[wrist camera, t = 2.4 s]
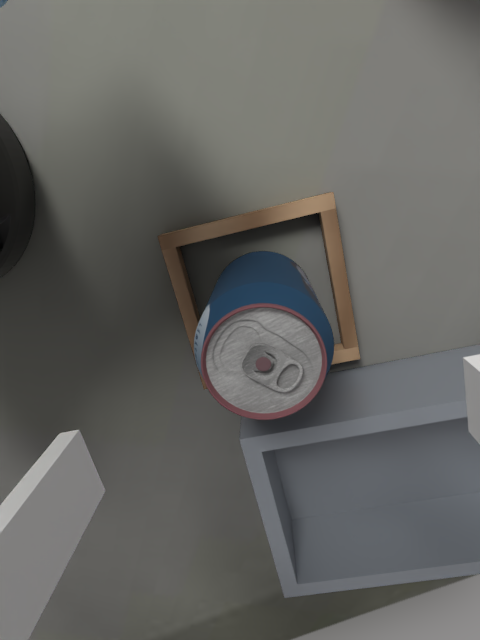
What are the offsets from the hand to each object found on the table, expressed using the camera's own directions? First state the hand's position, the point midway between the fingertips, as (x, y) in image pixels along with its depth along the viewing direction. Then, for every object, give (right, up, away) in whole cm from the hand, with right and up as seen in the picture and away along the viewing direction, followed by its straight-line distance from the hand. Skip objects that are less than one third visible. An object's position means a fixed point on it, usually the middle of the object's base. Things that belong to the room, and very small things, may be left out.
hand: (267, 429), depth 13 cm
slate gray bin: (+12, -6, +19) cm, 23 cm away
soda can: (+1, +6, +16) cm, 17 cm away
